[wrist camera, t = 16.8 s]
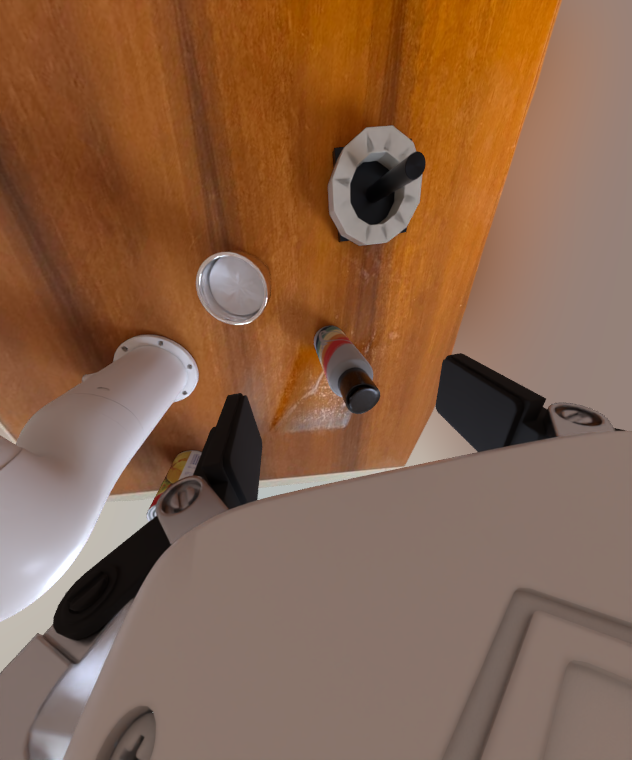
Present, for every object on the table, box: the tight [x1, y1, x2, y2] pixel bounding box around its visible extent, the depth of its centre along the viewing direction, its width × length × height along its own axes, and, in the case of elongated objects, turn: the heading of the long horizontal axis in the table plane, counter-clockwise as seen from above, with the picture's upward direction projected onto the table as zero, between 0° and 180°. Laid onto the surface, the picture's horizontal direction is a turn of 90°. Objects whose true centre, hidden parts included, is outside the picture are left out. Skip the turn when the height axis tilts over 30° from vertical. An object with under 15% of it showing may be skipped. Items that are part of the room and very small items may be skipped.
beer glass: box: [196, 250, 271, 325], centre depth 28 cm, size 7×7×15 cm
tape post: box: [333, 139, 425, 242], centre depth 27 cm, size 10×10×12 cm
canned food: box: [147, 450, 202, 521], centre depth 45 cm, size 8×8×12 cm
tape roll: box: [328, 126, 422, 246], centre depth 30 cm, size 11×11×3 cm
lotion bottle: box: [314, 326, 380, 414], centre depth 33 cm, size 6×6×20 cm
